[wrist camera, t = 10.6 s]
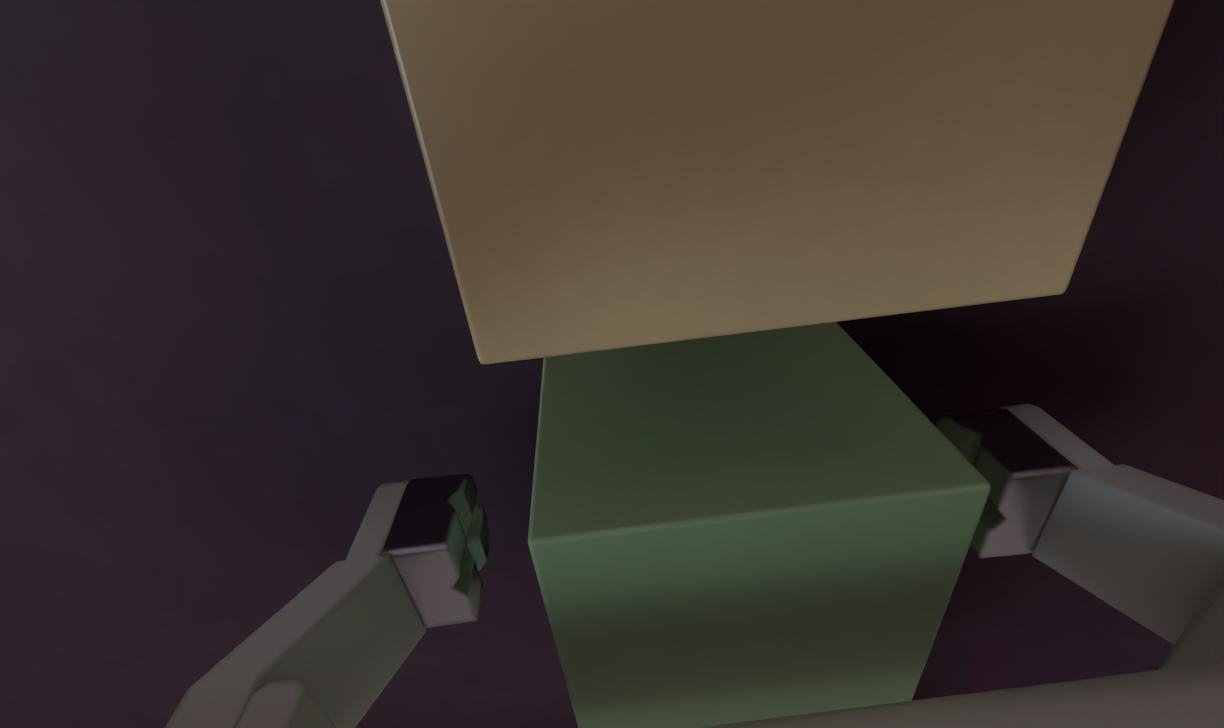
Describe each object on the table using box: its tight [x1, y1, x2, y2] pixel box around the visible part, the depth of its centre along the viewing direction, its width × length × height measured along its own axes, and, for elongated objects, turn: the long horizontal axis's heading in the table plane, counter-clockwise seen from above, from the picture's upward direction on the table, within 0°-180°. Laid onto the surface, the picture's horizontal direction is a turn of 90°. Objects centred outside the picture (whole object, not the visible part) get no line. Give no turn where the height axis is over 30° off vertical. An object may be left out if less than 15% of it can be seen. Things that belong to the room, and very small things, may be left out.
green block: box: [528, 322, 991, 728], centre depth 9 cm, size 5×5×5 cm
